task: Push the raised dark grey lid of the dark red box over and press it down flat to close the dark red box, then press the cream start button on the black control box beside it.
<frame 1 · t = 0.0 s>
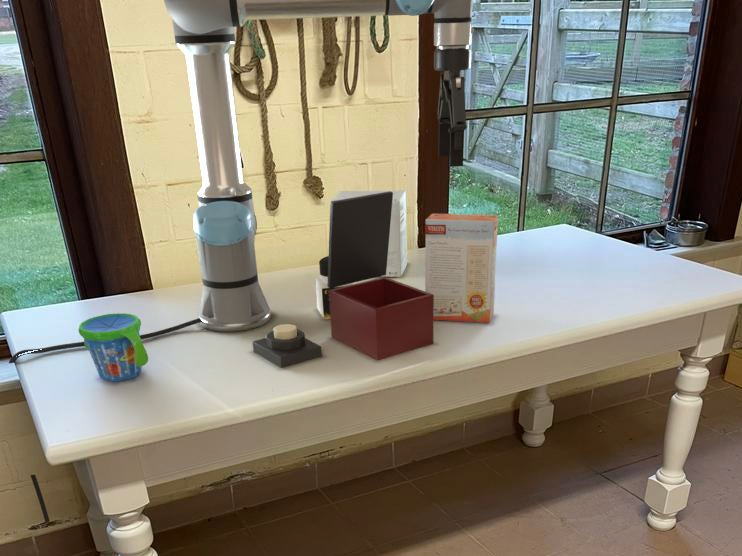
hand: (450, 161, 171), 28 cm above the table, tool pointing down, fingers open, 13 cm apart
supplement box: (371, 270, 201), on the table
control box: (287, 354, 153), on the table
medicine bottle: (336, 313, 174), on the table
cracker box: (459, 318, 169), on the table
dark red box: (381, 341, 158), on the table
start button: (285, 332, 151), point 4 cm above the table, slide at 0.1 cm
snack cup: (121, 376, 147), on the table
dark grey lid: (359, 240, 153), point 19 cm above the table, hinge at 80.0°
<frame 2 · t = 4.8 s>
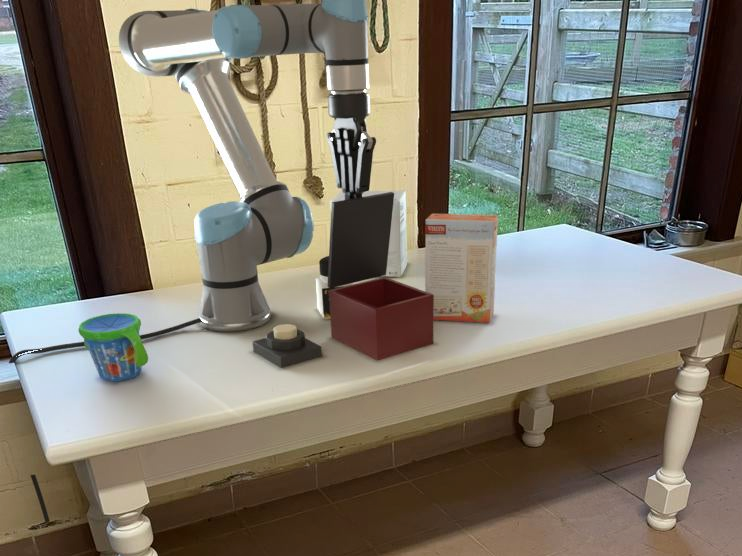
hand: (354, 229, 153), 20 cm above the table, tool pointing down, fingers closed
dark grey lid: (360, 240, 152), point 19 cm above the table, hinge at 78.5°, touching gripper
everything else where it was.
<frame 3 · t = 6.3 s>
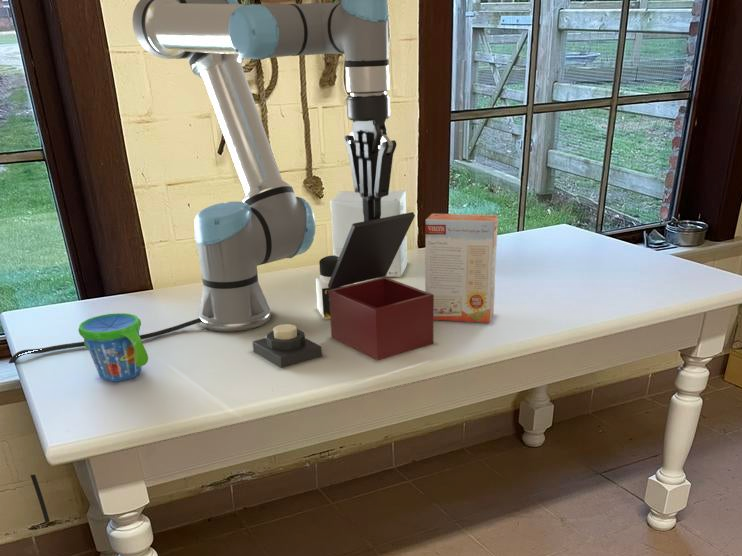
hand: (372, 234, 149), 20 cm above the table, tool pointing down, fingers closed
dark grey lid: (370, 251, 151), point 17 cm above the table, hinge at 53.9°
everything else where it was.
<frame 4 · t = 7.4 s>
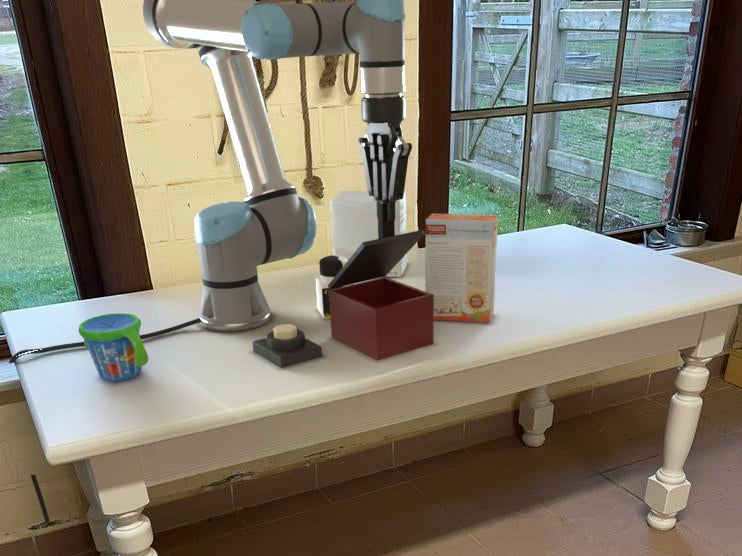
hand: (386, 238, 146), 20 cm above the table, tool pointing down, fingers closed
dark grey lid: (375, 260, 151), point 16 cm above the table, hinge at 40.0°
everything else where it was.
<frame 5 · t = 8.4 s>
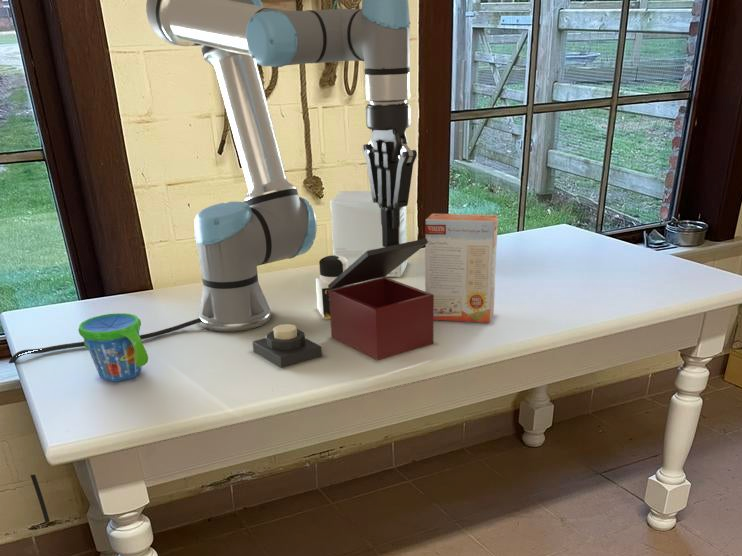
hand: (390, 245, 145), 19 cm above the table, tool pointing down, fingers closed
dark grey lid: (376, 264, 151), point 15 cm above the table, hinge at 34.0°, touching gripper
everything else where it was.
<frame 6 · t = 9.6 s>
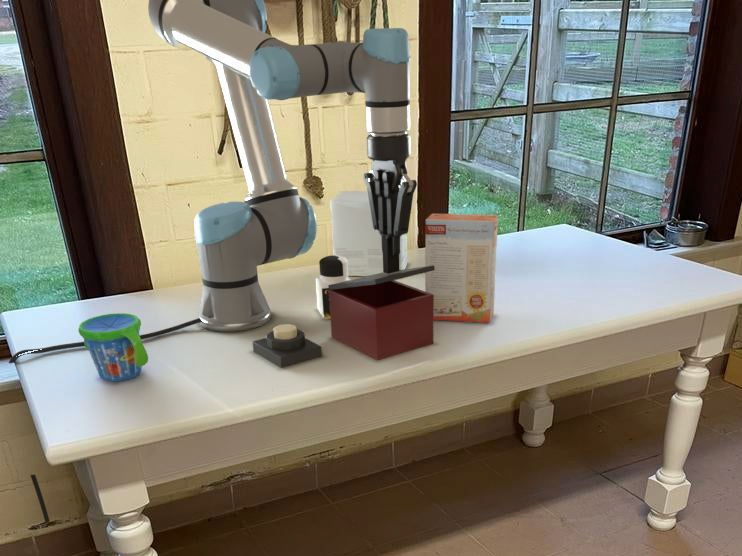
hand: (391, 271, 148), 15 cm above the table, tool pointing down, fingers closed
dark grey lid: (380, 277, 151), point 13 cm above the table, hinge at 16.2°, touching gripper
everything else where it was.
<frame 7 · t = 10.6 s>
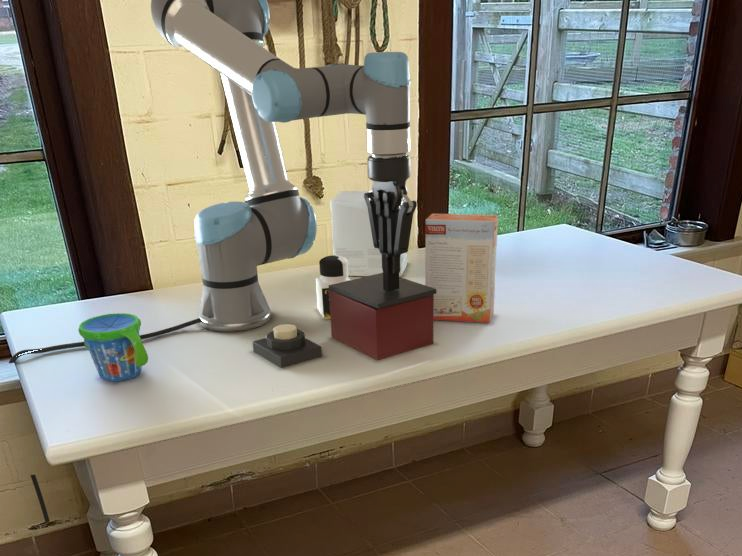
hand: (391, 289, 150), 11 cm above the table, tool pointing down, fingers closed
dark grey lid: (381, 289, 152), point 11 cm above the table, hinge at 1.1°, touching gripper
everything else where it was.
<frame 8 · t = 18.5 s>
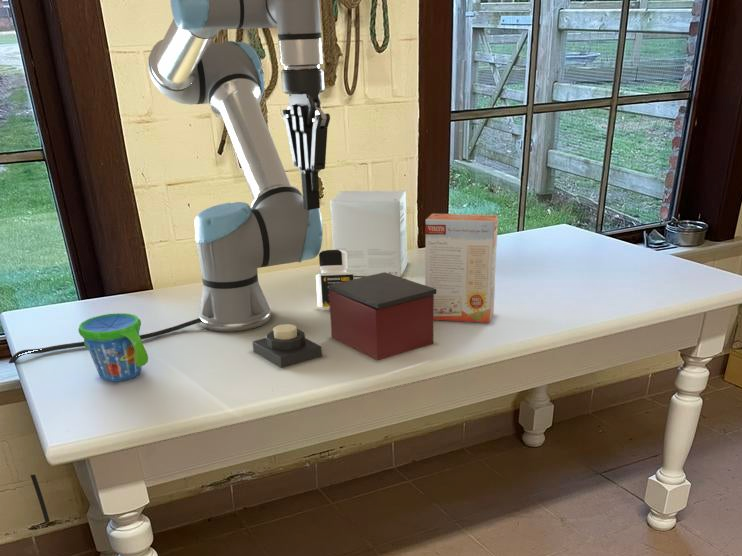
hand: (311, 208, 151), 24 cm above the table, tool pointing down, fingers closed
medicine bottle: (336, 308, 173), point 1 cm above the table, touching arm
dark grey lid: (381, 289, 152), point 11 cm above the table, hinge at 1.1°
everything else where it was.
at the end: dark grey lid at +1° (first picture: +80°); start button pushed in 0.7 cm at the most during the clip, back to where it started at the end; start button slide at 0.1 cm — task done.
